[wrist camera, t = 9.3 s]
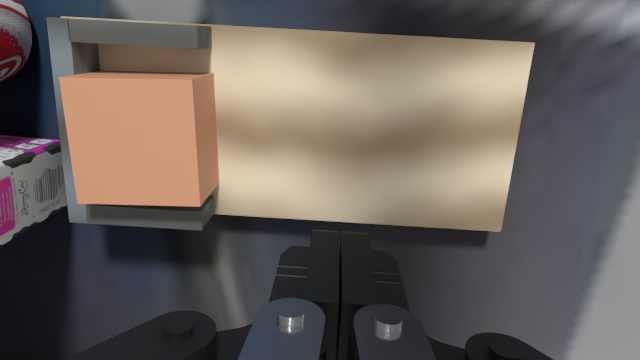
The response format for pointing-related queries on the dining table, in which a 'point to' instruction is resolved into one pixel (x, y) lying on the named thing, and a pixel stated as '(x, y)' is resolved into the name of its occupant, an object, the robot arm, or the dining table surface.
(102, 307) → the dining table surface
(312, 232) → the robot arm
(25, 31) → the soda can
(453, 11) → the dining table surface
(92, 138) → the carton
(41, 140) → the candy bar box
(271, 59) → the board
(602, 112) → the dining table surface
